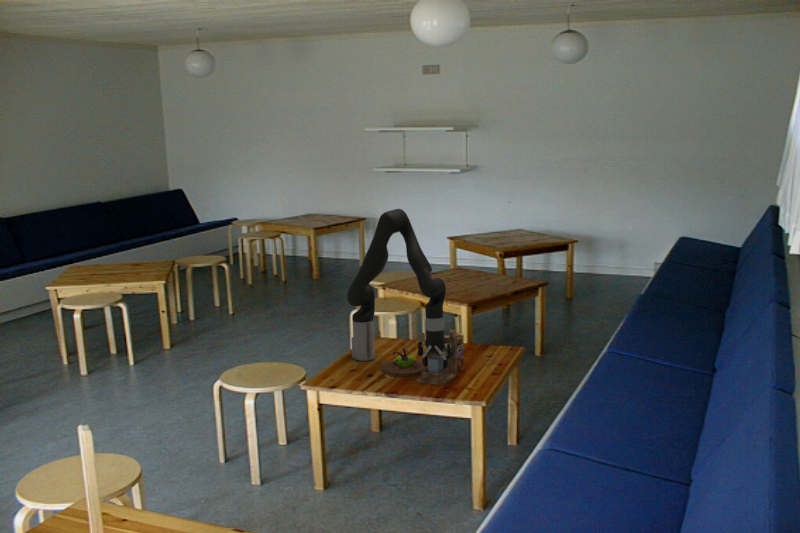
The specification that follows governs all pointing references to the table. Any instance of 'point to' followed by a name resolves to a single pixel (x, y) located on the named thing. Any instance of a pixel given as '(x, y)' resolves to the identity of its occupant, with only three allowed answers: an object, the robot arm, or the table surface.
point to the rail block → (435, 364)
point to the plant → (403, 366)
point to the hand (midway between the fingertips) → (435, 367)
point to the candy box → (459, 350)
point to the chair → (446, 373)
